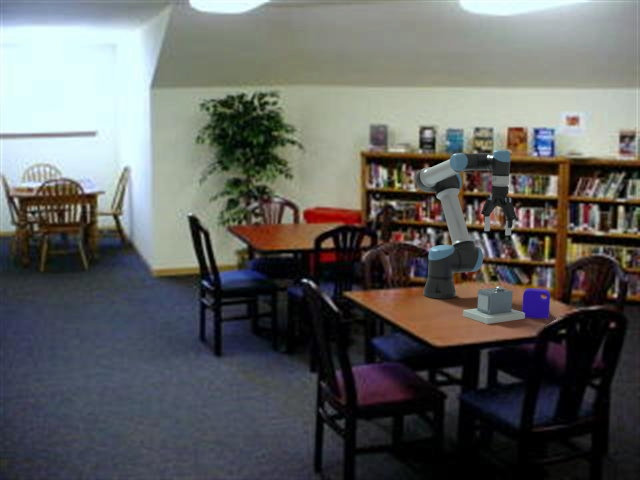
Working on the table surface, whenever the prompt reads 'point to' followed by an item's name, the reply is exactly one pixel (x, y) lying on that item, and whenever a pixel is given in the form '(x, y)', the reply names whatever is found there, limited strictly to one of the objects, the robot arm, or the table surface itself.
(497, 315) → the tray
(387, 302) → the table surface
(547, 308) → the bracket
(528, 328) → the table surface
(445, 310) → the table surface
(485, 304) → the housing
